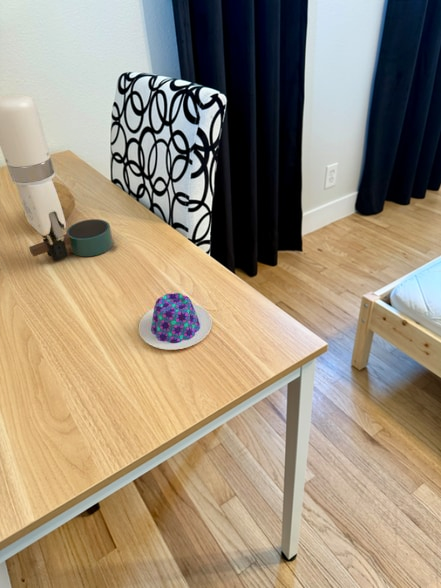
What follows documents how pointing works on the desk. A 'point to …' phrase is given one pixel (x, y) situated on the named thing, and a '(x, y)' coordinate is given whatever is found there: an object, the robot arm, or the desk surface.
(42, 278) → the desk surface
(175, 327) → the pudding
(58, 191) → the potato
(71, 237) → the pan
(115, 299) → the desk surface
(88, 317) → the desk surface
